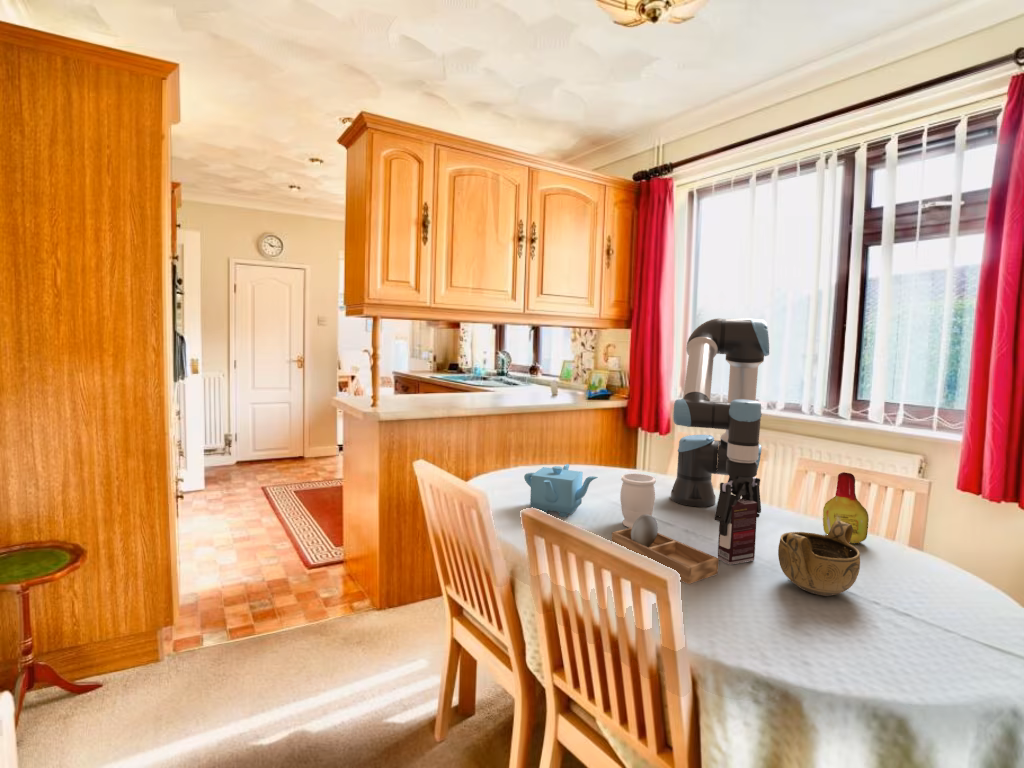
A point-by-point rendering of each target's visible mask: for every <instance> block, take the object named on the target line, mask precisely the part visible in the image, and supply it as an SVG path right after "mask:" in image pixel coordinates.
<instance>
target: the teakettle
mask: <svg viewBox="0 0 1024 768" xmlns="http://www.w3.org/2000/svg"><path fill="white" fill-rule="evenodd" d="M569 468H570V464H569V463H566V464H564V466H563V467H562V466H557V465H556V466H553V467H545V466H544V467H541V468H539V470H537V471H535V472H528V473H526V474H524V480H525V483H526V484H527V485H528V486H529V487H530V502H529V508H530V507H533V508H532V509H536V508H537V509H538V510H539V509H540V510H542V511H544V512H547V513H548V511H550V512H556V513H557V512H558V516H559V517H560V518H568V517H569V514H571V515H572V514H574V512H575V511H576V509H578V508H579V506H580V505H581V504H582V502H583V501H582V500H583V499H584V496H585V495H586V494H587V491H588V489H589V486H590V484H591V483H592V481H593V480H595V479H598V476H587V477H586V478H585V479H584V482H583V471H579V470H570V469H569ZM582 498H583V499H582Z"/></svg>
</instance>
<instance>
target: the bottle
mask: <svg viewBox="0 0 1024 768" xmlns="http://www.w3.org/2000/svg"><path fill="white" fill-rule="evenodd" d="M822 511H823V512H822V515H823V516H822V517H823V518H822V527H823V531H824V534H825V535H827V534H829V532H830V530H831V527H832V525H833V524H834V522H835V521H842V522H845V523H848V524H850V525H852V527H853V532H852V536H851V540H850V544H853V543H858V544H860V543H862V542H864V541H866V539H867V537H868V532H869V531H868V529H869V519H870V518H869V513H868V511H867V509H866V508H865V506H863V505H862V503H861V502H860V501H859V500H858V498H857V494H856V477H855V476H854V474H853V473H851V472H850V473H849V472H845V471H844V472H840V473H839V474H838V475H837V483H836V491H835V496H833V497H832V498H830V499H829V500H827V501H826V502H825V503H824V506H823V509H822Z"/></svg>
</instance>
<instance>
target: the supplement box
mask: <svg viewBox="0 0 1024 768" xmlns="http://www.w3.org/2000/svg"><path fill="white" fill-rule="evenodd" d="M730 506H731V507H732V517H731V520H730V524H732V528H731V543H730V549H727V548H724V547H722V546H719V543H720V522H719V521H718V522H719V526H718V542H717V544H718V545H717V558H719V560H720V561H722V562H723V563H725V564H727V565H730V566H731V565H736V564H737V565H738V564H742V563H743V564H744V563H747V562H748V563H749V562H752V561H755V554H756V553H755V552H756V538H757V536H756V535H757V502H755V501H749V500H745V499H742V497H741V498H740V499H739V500H738V501H737V503H736V505H730Z"/></svg>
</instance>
